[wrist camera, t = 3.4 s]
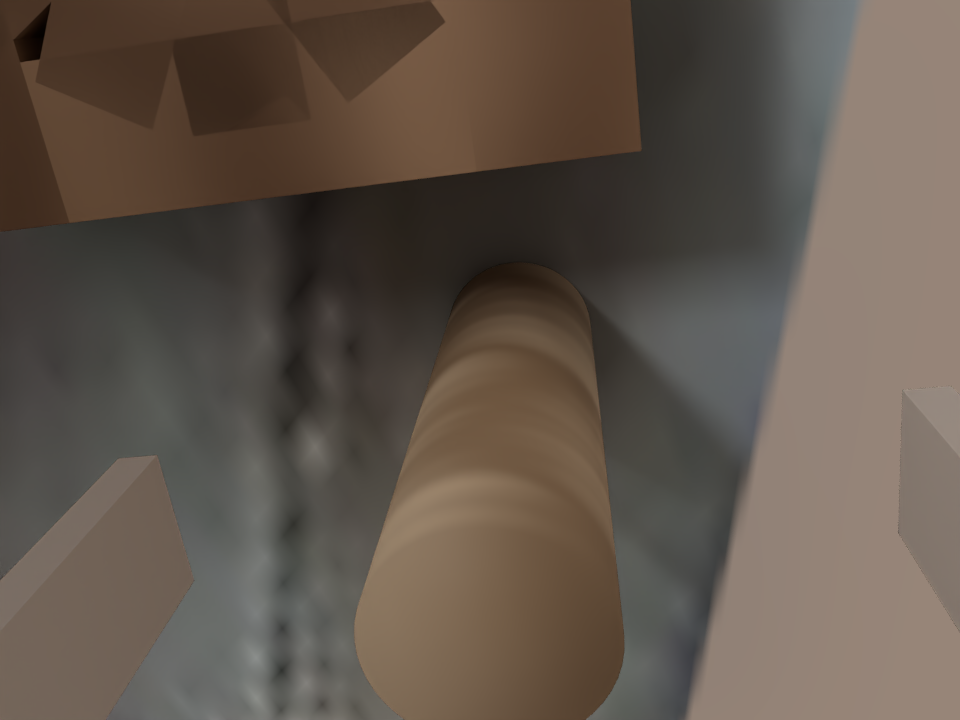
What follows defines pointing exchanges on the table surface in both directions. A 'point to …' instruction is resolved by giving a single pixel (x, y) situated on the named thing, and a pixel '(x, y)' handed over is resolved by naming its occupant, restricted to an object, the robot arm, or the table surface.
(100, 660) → the robot arm
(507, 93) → the bore block
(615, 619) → the dowel pin
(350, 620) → the table surface
